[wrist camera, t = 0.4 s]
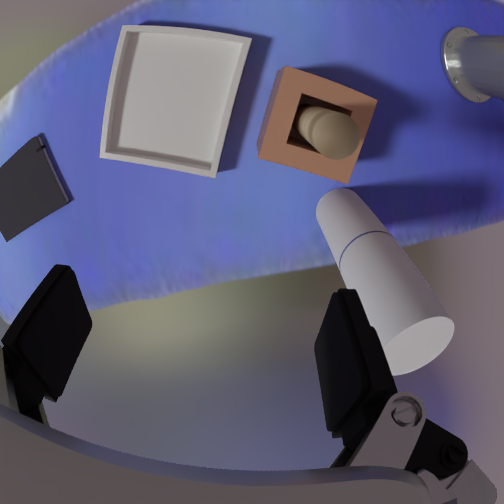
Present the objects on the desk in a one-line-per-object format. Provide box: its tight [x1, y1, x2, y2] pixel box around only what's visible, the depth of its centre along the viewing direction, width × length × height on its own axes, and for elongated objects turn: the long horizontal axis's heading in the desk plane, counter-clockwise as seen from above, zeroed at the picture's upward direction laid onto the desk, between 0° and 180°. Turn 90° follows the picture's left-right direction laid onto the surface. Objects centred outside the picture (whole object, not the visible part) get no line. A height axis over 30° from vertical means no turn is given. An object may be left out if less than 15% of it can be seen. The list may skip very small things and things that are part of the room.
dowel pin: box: [292, 104, 360, 160], centre depth 26 cm, size 4×4×13 cm
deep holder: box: [257, 66, 378, 184], centre depth 29 cm, size 10×10×8 cm
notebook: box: [0, 136, 70, 242], centre depth 36 cm, size 13×2×21 cm
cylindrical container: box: [316, 188, 454, 376], centre depth 29 cm, size 7×7×25 cm
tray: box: [100, 25, 252, 178], centre depth 30 cm, size 16×18×2 cm
